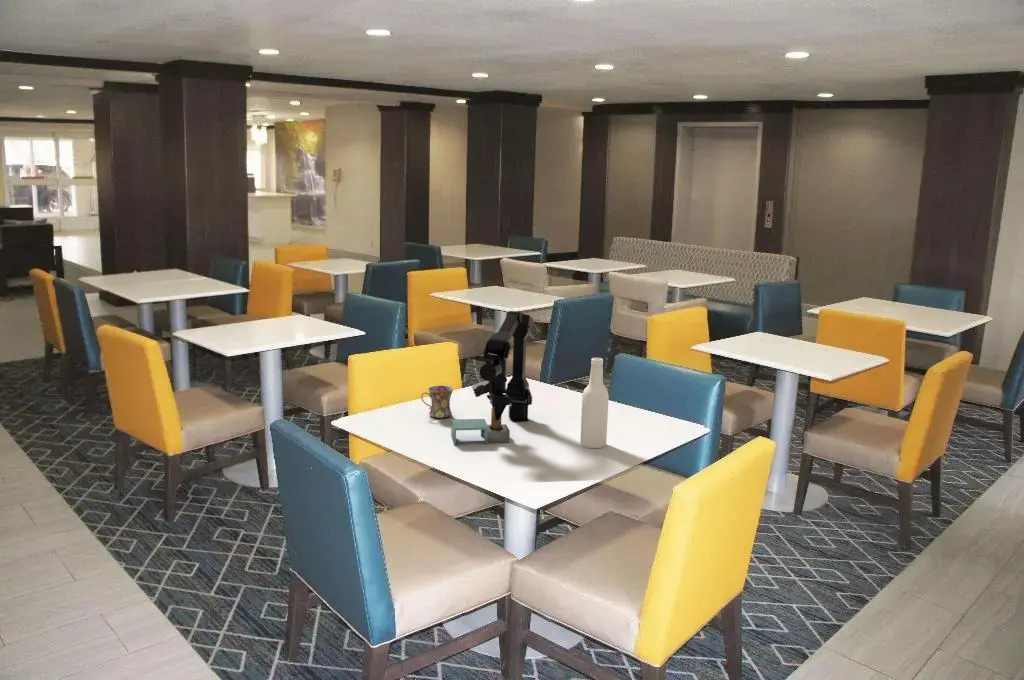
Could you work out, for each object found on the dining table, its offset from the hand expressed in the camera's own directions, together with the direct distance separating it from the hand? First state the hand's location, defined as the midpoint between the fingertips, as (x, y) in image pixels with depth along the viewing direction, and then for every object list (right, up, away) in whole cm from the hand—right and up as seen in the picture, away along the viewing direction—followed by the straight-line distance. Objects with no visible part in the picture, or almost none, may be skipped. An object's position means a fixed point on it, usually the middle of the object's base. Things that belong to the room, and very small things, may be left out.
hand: (496, 418), depth 284 cm
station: (-6, -7, 0) cm, 9 cm away
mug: (-23, -2, +26) cm, 35 cm away
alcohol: (+33, -9, -2) cm, 34 cm away
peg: (0, -4, +1) cm, 5 cm away
